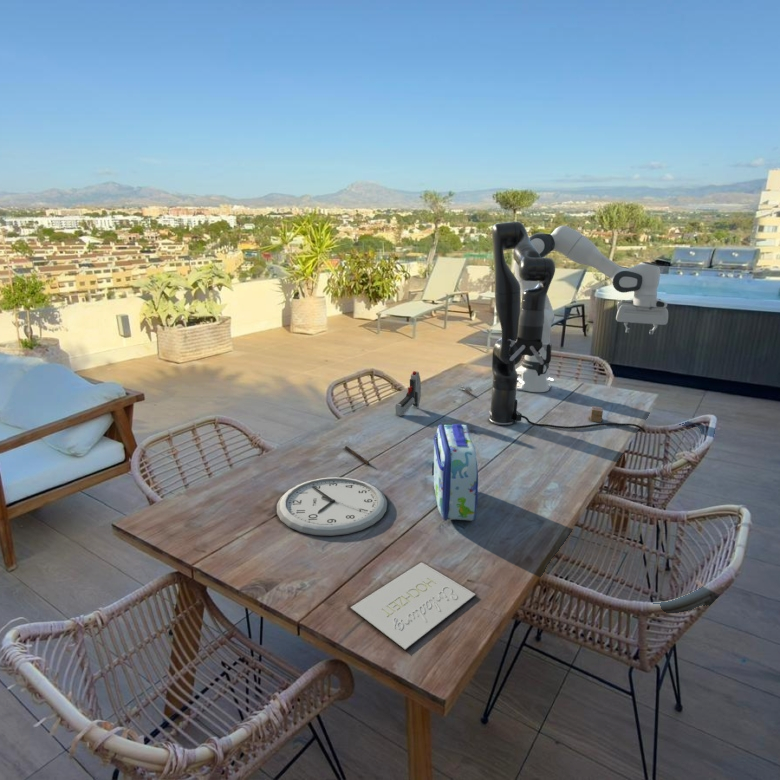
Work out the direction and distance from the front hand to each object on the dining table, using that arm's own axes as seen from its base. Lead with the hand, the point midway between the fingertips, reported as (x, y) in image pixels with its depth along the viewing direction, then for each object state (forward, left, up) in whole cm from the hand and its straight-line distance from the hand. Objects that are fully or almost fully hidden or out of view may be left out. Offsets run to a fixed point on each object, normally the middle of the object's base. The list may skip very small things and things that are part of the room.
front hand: (525, 373), depth 168 cm
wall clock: (+66, +19, -29) cm, 74 cm away
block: (-48, -25, -29) cm, 61 cm away
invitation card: (+55, +61, -29) cm, 87 cm away
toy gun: (+24, -50, -29) cm, 62 cm away
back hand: (-78, -44, +2) cm, 90 cm away
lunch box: (+33, +25, -29) cm, 51 cm away
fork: (-10, -70, -29) cm, 76 cm away
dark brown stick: (+53, -10, -29) cm, 61 cm away
